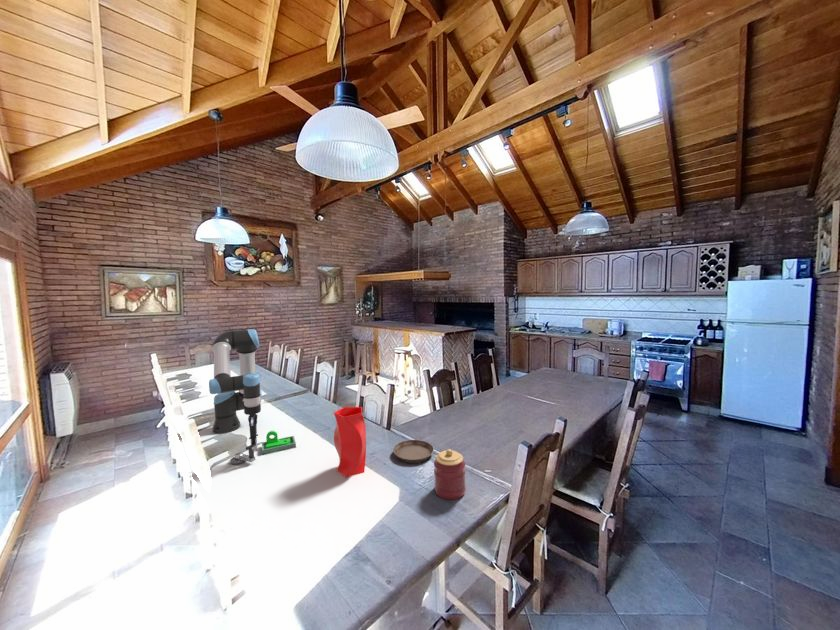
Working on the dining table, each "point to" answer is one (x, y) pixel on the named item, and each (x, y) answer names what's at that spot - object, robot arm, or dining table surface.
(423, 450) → the plant saucer
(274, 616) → the dining table surface
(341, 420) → the vase
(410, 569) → the dining table surface
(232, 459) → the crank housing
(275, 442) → the mechanical part
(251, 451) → the crank
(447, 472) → the canister
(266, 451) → the tray
